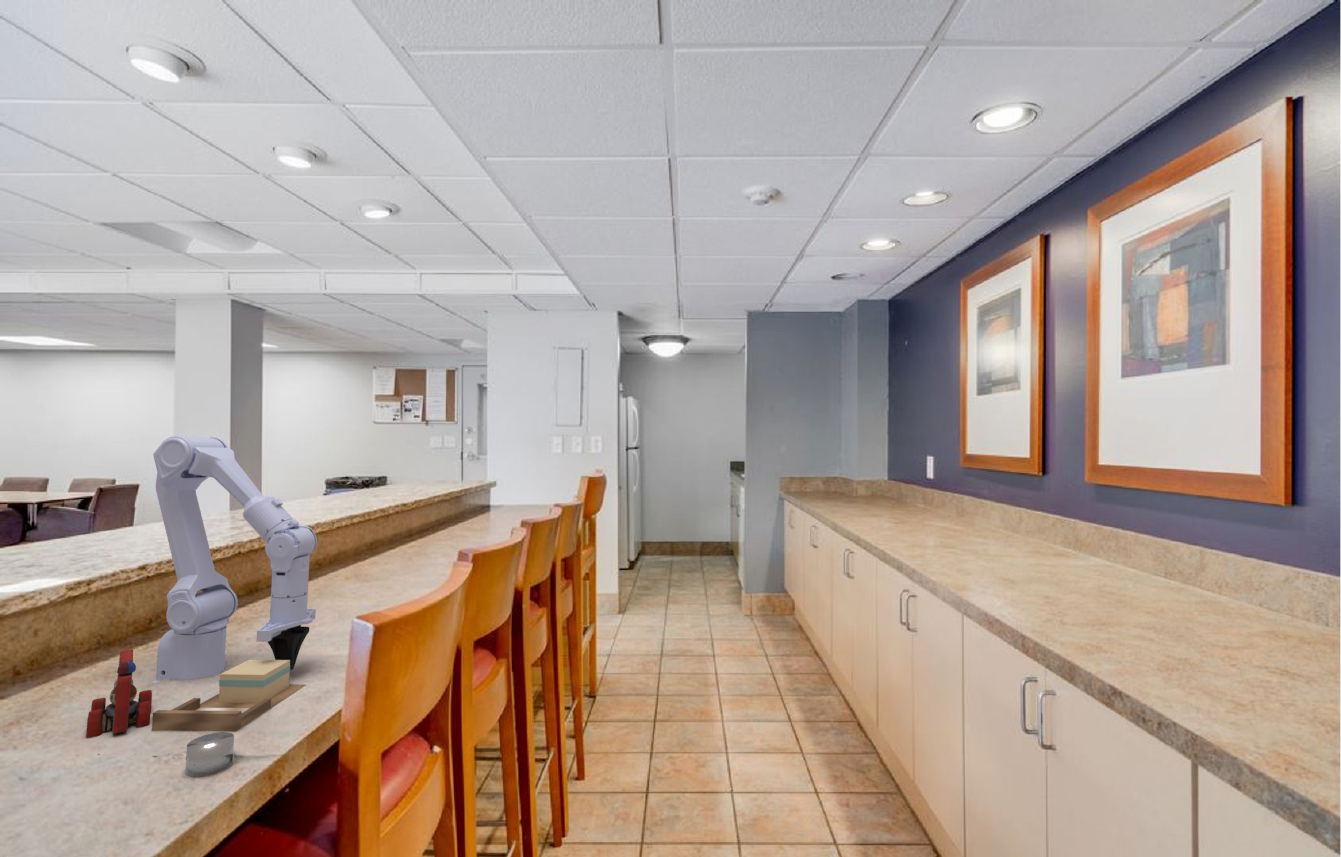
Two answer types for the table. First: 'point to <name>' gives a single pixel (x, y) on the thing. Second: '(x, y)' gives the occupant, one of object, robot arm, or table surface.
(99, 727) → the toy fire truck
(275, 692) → the carton
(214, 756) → the grey tin
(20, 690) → the table surface
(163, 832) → the table surface
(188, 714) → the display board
